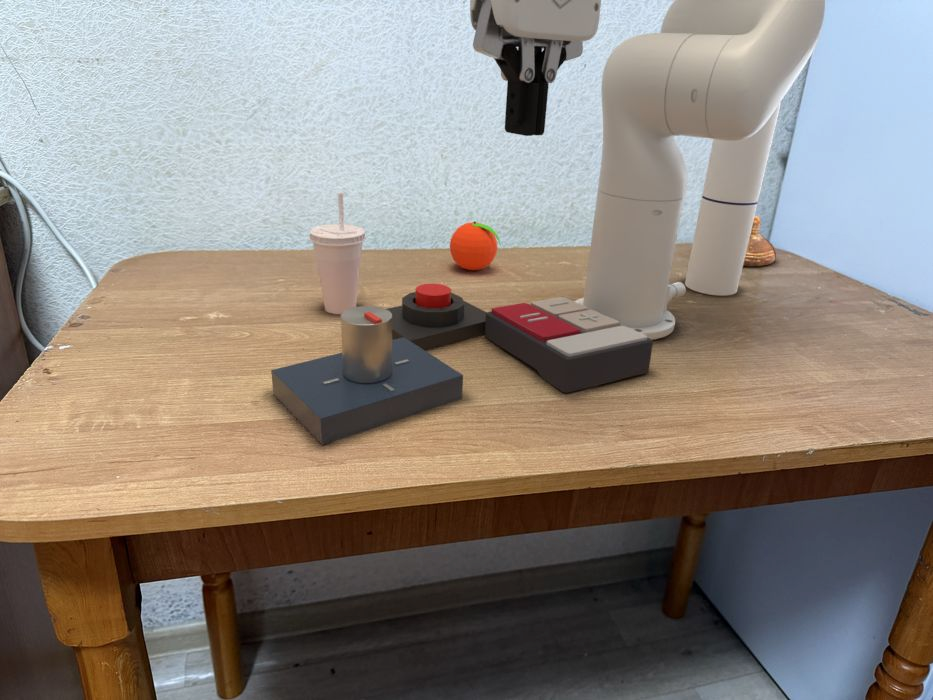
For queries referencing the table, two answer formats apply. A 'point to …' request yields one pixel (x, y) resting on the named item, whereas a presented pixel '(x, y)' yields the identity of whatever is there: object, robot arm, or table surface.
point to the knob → (366, 344)
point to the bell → (758, 248)
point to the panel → (364, 392)
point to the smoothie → (338, 261)
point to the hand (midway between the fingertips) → (523, 133)
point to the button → (433, 296)
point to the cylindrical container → (728, 211)
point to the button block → (436, 322)
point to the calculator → (569, 343)
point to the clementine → (474, 246)
